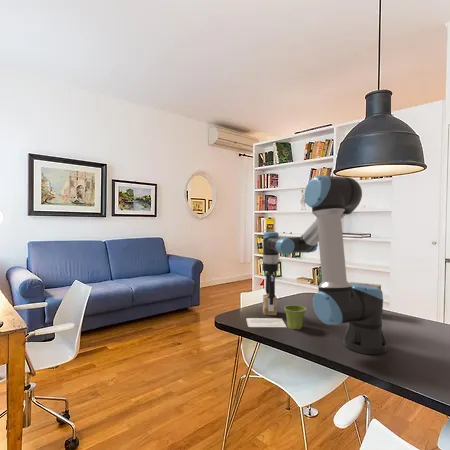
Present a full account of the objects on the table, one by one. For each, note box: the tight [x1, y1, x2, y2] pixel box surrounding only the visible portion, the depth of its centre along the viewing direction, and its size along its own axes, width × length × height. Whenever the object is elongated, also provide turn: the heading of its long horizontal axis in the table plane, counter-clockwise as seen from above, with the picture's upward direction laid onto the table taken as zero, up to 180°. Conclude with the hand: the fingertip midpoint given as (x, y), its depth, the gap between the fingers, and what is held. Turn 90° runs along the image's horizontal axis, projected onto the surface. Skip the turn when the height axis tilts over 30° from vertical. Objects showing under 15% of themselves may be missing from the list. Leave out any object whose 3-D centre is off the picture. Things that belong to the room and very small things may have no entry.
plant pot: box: [283, 304, 307, 330], centre depth 143 cm, size 9×9×9 cm
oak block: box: [262, 294, 278, 316], centre depth 163 cm, size 6×6×9 cm
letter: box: [246, 317, 287, 328], centre depth 149 cm, size 12×17×1 cm
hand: (269, 308), depth 163 cm, fingers open, 7 cm apart
